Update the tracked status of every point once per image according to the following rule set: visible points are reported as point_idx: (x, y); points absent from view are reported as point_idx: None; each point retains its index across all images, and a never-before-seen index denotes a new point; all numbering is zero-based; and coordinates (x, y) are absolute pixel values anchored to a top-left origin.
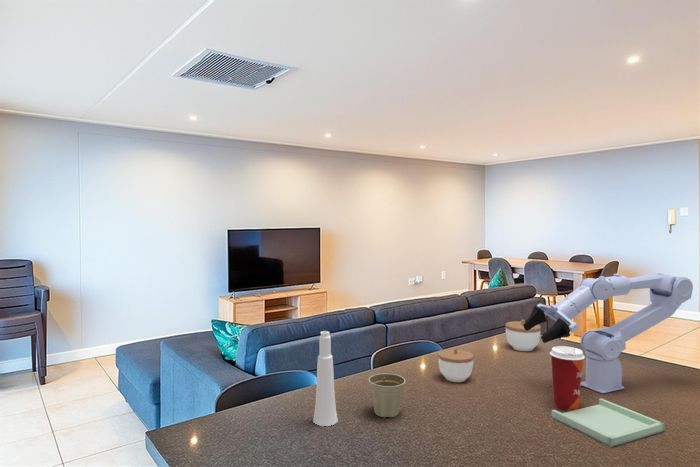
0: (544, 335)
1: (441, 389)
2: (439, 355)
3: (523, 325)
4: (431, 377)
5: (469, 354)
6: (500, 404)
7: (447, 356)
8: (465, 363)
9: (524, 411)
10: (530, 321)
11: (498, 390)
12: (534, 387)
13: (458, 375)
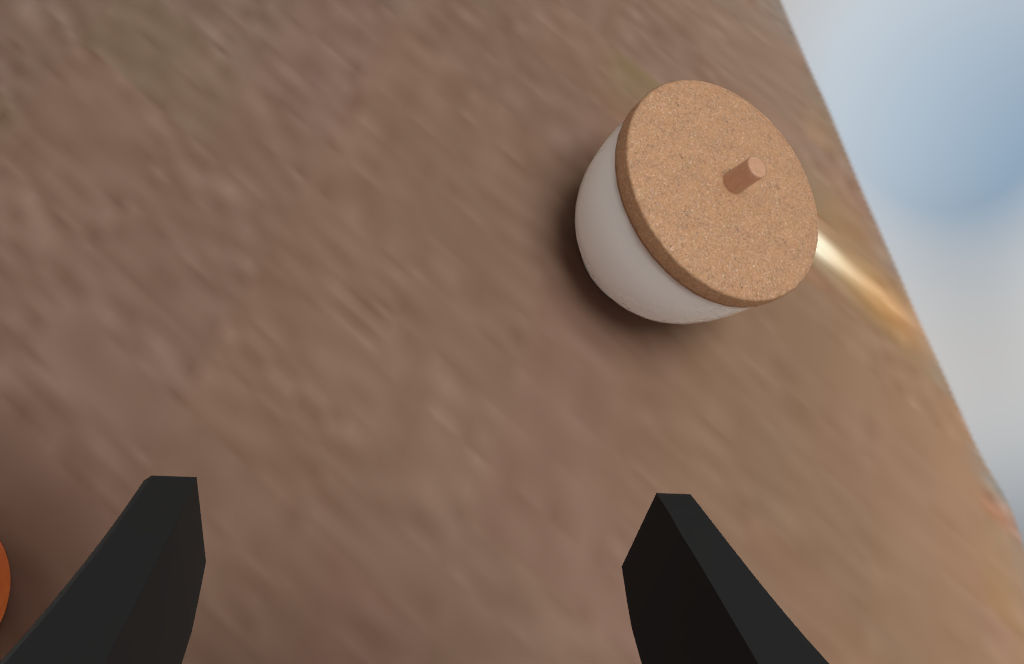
0: (125, 513)
1: (520, 88)
2: (727, 90)
3: (676, 494)
4: None
5: (700, 248)
6: (205, 185)
7: (693, 99)
8: (611, 175)
9: (23, 226)
10: (710, 635)
11: (400, 343)
12: (348, 633)
13: (581, 182)
